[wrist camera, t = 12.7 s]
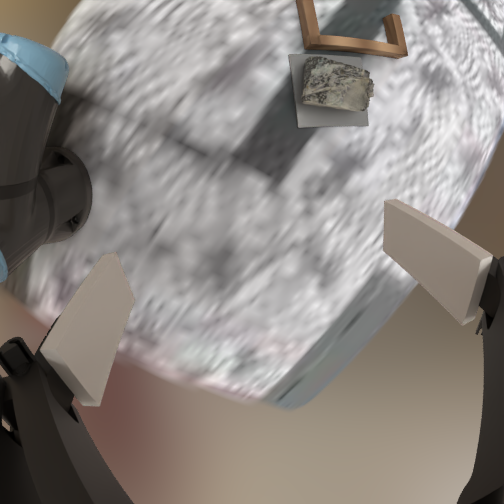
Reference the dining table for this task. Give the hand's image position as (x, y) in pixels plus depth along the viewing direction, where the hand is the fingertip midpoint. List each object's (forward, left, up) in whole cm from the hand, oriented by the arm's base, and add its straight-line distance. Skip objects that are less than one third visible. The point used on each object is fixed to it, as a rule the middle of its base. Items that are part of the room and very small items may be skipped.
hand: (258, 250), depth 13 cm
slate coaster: (+15, +10, -28) cm, 33 cm away
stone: (+14, +10, -27) cm, 32 cm away
